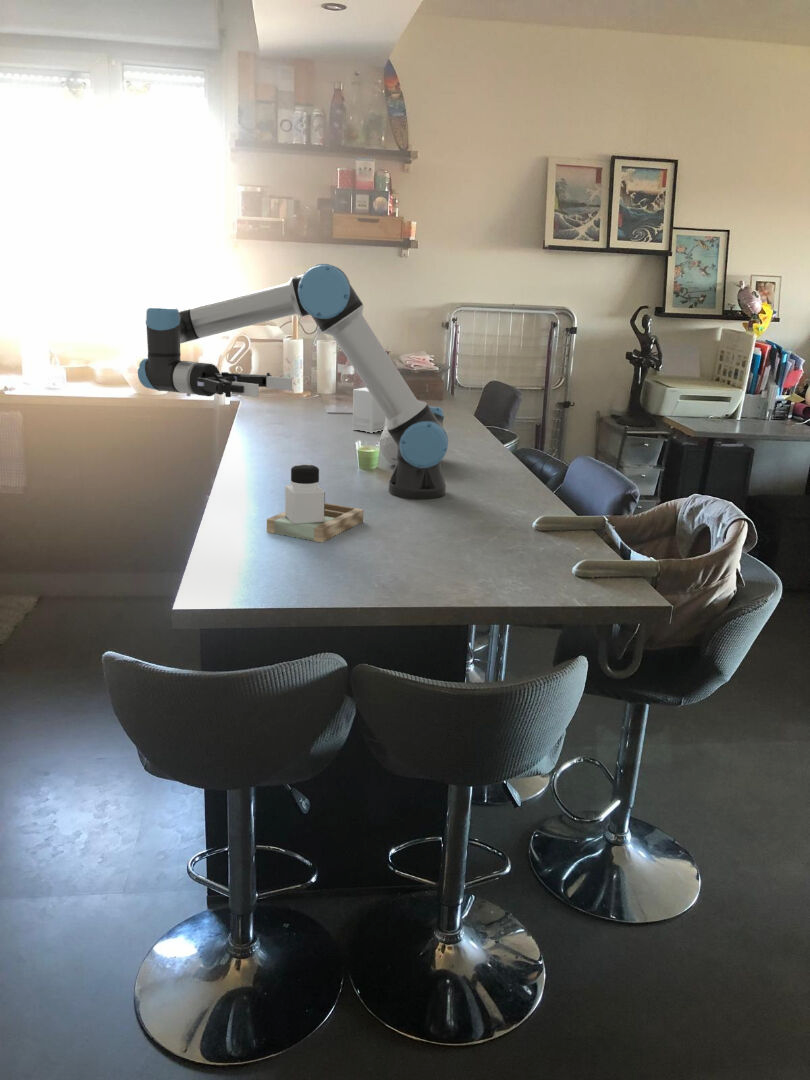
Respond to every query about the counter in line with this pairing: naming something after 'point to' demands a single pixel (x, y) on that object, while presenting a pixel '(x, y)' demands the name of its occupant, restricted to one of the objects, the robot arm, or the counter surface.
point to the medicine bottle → (304, 496)
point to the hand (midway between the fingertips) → (275, 387)
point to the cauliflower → (388, 446)
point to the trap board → (317, 524)
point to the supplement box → (366, 411)
